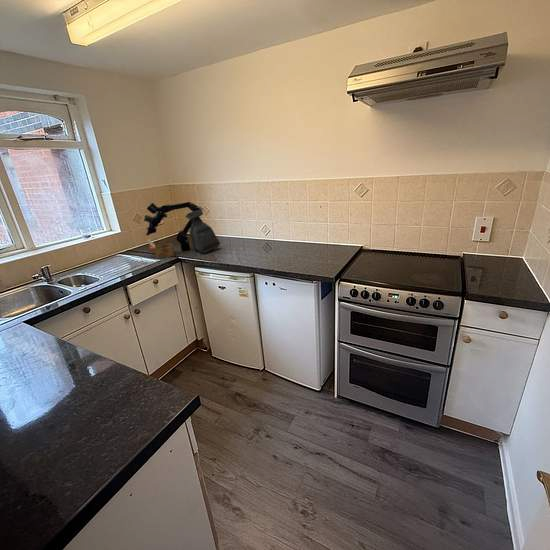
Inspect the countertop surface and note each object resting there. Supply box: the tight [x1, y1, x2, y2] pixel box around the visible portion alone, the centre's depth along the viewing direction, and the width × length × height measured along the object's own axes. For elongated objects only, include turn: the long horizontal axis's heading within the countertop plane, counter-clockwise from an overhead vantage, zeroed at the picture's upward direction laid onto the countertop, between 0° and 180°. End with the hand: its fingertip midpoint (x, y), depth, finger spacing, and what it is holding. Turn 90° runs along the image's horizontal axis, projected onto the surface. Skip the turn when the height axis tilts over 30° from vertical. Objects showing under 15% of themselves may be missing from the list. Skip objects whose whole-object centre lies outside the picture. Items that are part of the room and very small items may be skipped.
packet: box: [149, 246, 155, 252], centre depth 253 cm, size 8×4×3 cm, turn 109°
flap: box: [147, 239, 156, 248], centre depth 227 cm, size 6×12×1 cm
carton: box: [154, 242, 176, 260], centre depth 232 cm, size 13×12×8 cm
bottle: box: [185, 210, 221, 255], centre depth 227 cm, size 18×16×30 cm
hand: (146, 232), depth 236 cm, fingers open, 9 cm apart
